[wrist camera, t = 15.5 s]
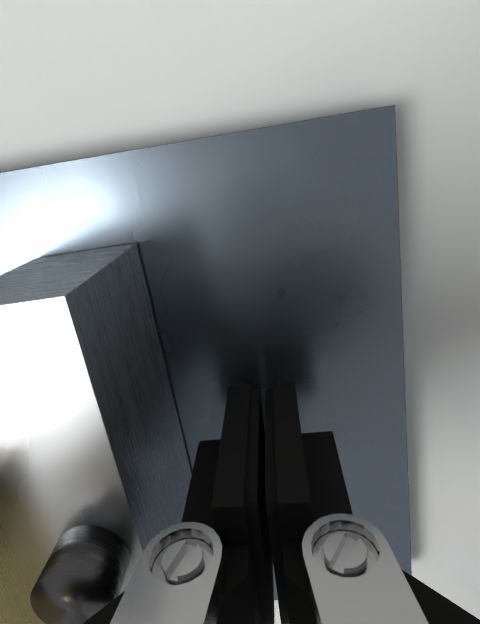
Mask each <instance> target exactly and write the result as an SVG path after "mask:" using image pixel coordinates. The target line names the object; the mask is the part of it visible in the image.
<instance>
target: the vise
mask: <svg viewBox="0 0 480 624" xmlns="http://www.w3.org/2000/svg"><path fill="white" fill-rule="evenodd" d="M134 243H137V247H138V252H139V256H140V260H141V264H142V268H143V273H144V277H145V281H146V285H147V289H148V294H149V298H150V302H151V306H152V310H153V314H154V319H155V323H156V327H157V331H158V335H159V340H160V344H161V348H162V352H163V356H164V361H165V365H166V369H167V373H168V377H169V382H170V386H171V390H172V394H173V398H174V402H175V407H176V411H177V415H178V419H179V423H180V428H181V432H182V436H183V440H184V444H185V449H186V453H187V457H188V461H189V465H190V470H191V474H192V471H193V467H194V462H195V457H196V453H197V448H198V445H199V442H200V441H203V440H217V439H221V434H222V428H223V421H224V414H225V407H226V400H227V393H228V387H229V386H234V385H246V384H250V385H251V389H252V390H255V389H259V390H260V396H261V405H262V413H263V421H264V429H265V389H267V388H273V382H281V381H293V380H294V381H295V388H296V396H297V404H298V411H299V419H300V426H301V433H312V432H326V431H332V432H333V435H334V439H335V443H336V447H337V451H338V455H339V459H340V463H341V468H342V472H343V476H344V480H345V484H346V488H347V492H348V496H349V501H350V505H351V509H352V513H353V515H356V516H359V517H361V518H363V519H365V520H368V521H369V522H371V523H372V524H373V525H375V526H376V527H377V528H378V529H379V530H380V531H381V533H382V534H383V535H384V537H385V538H386V540H387V542H388V544H389V546H390V548H391V550H392V552H393V554H394V556H395V558H396V560H397V562H398V564H399V566H400V568H401V569H402V570H403V571H405V572H407V573H408V574H410V575H411V576H412V574H411V546H410V518H409V490H408V462H407V433H406V405H405V377H404V349H403V321H402V293H401V265H400V237H399V209H398V181H397V153H396V125H395V105H392V106H386V107H380V108H375V109H369V110H363V111H357V112H351V113H346V114H340V115H334V116H328V117H322V118H317V119H311V120H305V121H299V122H293V123H288V124H282V125H276V126H270V127H264V128H259V129H253V130H247V131H241V132H236V133H230V134H224V135H218V136H212V137H207V138H201V139H195V140H189V141H183V142H178V143H172V144H166V145H160V146H154V147H149V148H143V149H137V150H131V151H125V152H120V153H114V154H108V155H102V156H97V157H91V158H85V159H79V160H73V161H68V162H62V163H56V164H50V165H44V166H39V167H33V168H27V169H21V170H15V171H10V172H4V173H0V275H2V274H4V273H6V272H8V271H10V270H12V269H14V268H17V267H19V266H21V265H23V264H25V263H27V262H29V261H31V260H33V259H35V258H42V257H48V256H55V255H62V254H68V253H75V252H81V251H88V250H95V249H101V248H108V247H114V246H121V245H128V244H134ZM273 580H274V600H278V595H277V588H276V580H275V573H274V565H273Z"/></svg>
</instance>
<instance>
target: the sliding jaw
mask: <svg viewBox="0 0 480 624" xmlns="http://www.w3.org/2000/svg"><path fill="white" fill-rule="evenodd" d="M191 476H192V474H191V470H190V465H189V461H188V457H187V453H186V449H185V444H184V440H183V436H182V432H181V428H180V423H179V419H178V415H177V411H176V407H175V402H174V398H173V394H172V390H171V386H170V382H169V377H168V373H167V369H166V365H165V361H164V356H163V352H162V348H161V344H160V340H159V335H158V331H157V327H156V323H155V319H154V314H153V310H152V306H151V302H150V298H149V294H148V289H147V285H146V281H145V277H144V273H143V268H142V264H141V260H140V256H139V252H138V247H137V243H134V244H128V245H121V246H114V247H108V248H101V249H95V250H88V251H81V252H75V253H68V254H62V255H55V256H48V257H42V258H35V259H33V260H31V261H29V262H27V263H25V264H23V265H21V266H19V267H17V268H14V269H12V270H10V271H8V272H6V273H4V274H2V275H0V524H1V526H2V529H3V531H4V533H5V536H6V538H7V540H8V542H9V545H10V547H11V549H12V552H13V554H14V556H15V558H16V561H17V563H18V565H19V567H20V570H21V572H22V574H23V577H24V579H25V581H26V583H27V586H28V588H29V590H30V593H31V595H30V602H31V606H32V608H33V610H34V612H35V613H36V615H37V616H38V617H39V618H40V619H41V620H42V621H43V622H44V624H83V623H84V622H85V621H87V620H88V619H89V618H90V617H92V616H93V615H94V614H96V613H97V612H98V611H99V610H101V609H102V608H103V607H105V606H106V605H107V604H108V603H110V602H111V601H112V600H113V599H115V598H116V597H117V596H119V595H120V594H121V593H122V592H124V591H125V590H126V588H127V586H128V583H129V581H130V579H131V577H132V575H133V573H134V570H135V568H136V566H137V564H138V562H139V560H140V557H141V555H142V553H143V551H144V550H145V548H146V546H147V545H148V543H149V542H150V541H151V540H152V539H153V538H154V537H155V536H156V535H157V534H158V533H159V532H161V531H163V530H164V529H166V528H168V527H169V526H172V525H175V524H179V523H181V522H182V517H183V513H184V508H185V503H186V499H187V494H188V490H189V485H190V480H191Z"/></svg>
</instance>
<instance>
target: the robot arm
mask: <svg viewBox="0 0 480 624" xmlns="http://www.w3.org/2000/svg"><path fill="white" fill-rule="evenodd" d="M273 565H274V573H275V580H276V588H277V595H278V603H279V611H280V618H281V624H480V620H479V619H477V618H476V617H474V616H473V615H471V614H470V613H468V612H467V611H465V610H464V609H462V608H461V607H459V606H457V605H456V604H454V603H453V602H451V601H450V600H448V599H447V598H445V597H444V596H442V595H440V594H439V593H437V592H436V591H434V590H433V589H431V588H430V587H428V586H427V585H425V584H424V583H422V582H420V581H419V580H417V579H416V578H414V577H413V576H411V575H410V574H408V573H407V572H405V571H403V570H402V569H401V568H400V566H399V564H398V562H397V560H396V558H395V556H394V554H393V552H392V550H391V548H390V546H389V544H388V542H387V540H386V538H385V537H384V535H383V534H382V533H381V531H380V530H379V529H378V528H377V527H376V526H375V525H373V524H372V523H371V522H369V521H368V520H365V519H363V518H361V517H359V516H356V515H353V513H352V509H351V505H350V501H349V496H348V492H347V488H346V484H345V480H344V476H343V472H342V468H341V463H340V459H339V455H338V451H337V447H336V443H335V439H334V435H333V432H332V431H326V432H312V433H301V426H300V419H299V411H298V404H297V396H296V388H295V381H294V380H293V381H281V382H273V388H267V389H265V429H264V421H263V413H262V405H261V396H260V390H259V389H255V390H252V389H251V385H250V384H246V385H234V386H229V387H228V393H227V400H226V407H225V414H224V421H223V428H222V434H221V439H217V440H203V441H200V442H199V445H198V448H197V453H196V457H195V462H194V467H193V471H192V476H191V480H190V485H189V490H188V494H187V499H186V503H185V508H184V513H183V517H182V522H181V523H179V524H175V525H172V526H169V527H168V528H166V529H164V530H163V531H161V532H159V533H158V534H157V535H156V536H155V537H154V538H153V539H152V540H151V541H150V542H149V543H148V545H147V546H146V548H145V550H144V551H143V553H142V555H141V557H140V560H139V562H138V564H137V566H136V568H135V570H134V573H133V575H132V577H131V579H130V581H129V583H128V586H127V588H126V590H125V591H124V592H122V593H121V594H120V595H119V596H117V597H116V598H115V599H113V600H112V601H111V602H110V603H108V604H107V605H106V606H105V607H103V608H102V609H101V610H99V611H98V612H97V613H96V614H94V615H93V616H92V617H90V618H89V619H88V620H87V621H85V622H84V623H83V624H274V580H273Z"/></svg>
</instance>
